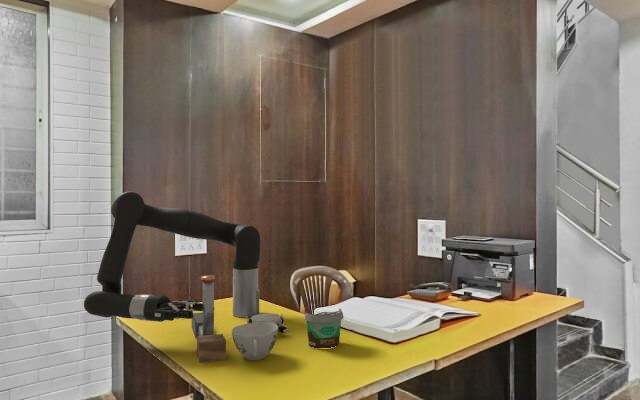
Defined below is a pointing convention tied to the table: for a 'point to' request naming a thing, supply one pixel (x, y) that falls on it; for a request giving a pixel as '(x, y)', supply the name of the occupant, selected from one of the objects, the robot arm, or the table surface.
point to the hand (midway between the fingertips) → (200, 311)
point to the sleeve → (196, 322)
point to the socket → (211, 348)
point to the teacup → (255, 339)
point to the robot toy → (270, 320)
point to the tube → (207, 306)
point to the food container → (324, 329)
